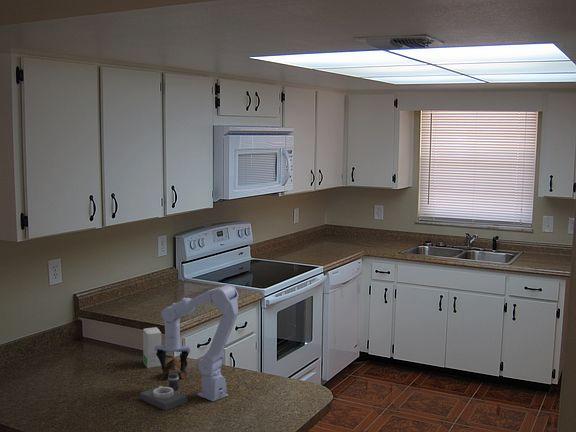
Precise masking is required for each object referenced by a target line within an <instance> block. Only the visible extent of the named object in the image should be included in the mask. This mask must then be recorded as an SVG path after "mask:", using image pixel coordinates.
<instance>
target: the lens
mask: <svg viewBox="0 0 576 432" xmlns="http://www.w3.org/2000/svg"><path fill="white" fill-rule="evenodd" d="M167 375H168V377H167V379H168V387H170V388H173V390H174V391H176V392H177V391H178V390H179V389H180V384H179V382H180V381H179V380H180V373H178V372H169V373H168V374H167Z"/></svg>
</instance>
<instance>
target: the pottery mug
mask: <svg viewBox="0 0 576 432" xmlns="http://www.w3.org/2000/svg"><path fill="white" fill-rule="evenodd" d="M175 367H177V368H178V369H179V371H181V360H180V359H179V360H178V359H177V358H174V359H171V360H169V361H168V362H167V363H166V368H165V369H164V370H163V369H162V368H161V370H162V374H163V375H164V374H166V375H168V374H170V371H173V372H174V371H176V369H175ZM187 367H188V360H187V359H186V362H185V366H184V370H183V371H181V373H179V377H180V379H181V380H183V379H184V378H186V377H187V375H188V373H187V370H186V369H187ZM169 370H170V371H169Z"/></svg>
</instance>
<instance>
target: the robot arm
mask: <svg viewBox="0 0 576 432" xmlns="http://www.w3.org/2000/svg"><path fill="white" fill-rule="evenodd" d="M239 295H240V294H239V293H238V291H237V289H236V287H235V286H234V285H233V284H229V283H227V284H225V285H223V286H222V285H221V286H219V287H215V288H212V289H210V290H207V291H205V292H203V293H201V294H200V295H198V296H195V297H193V298H190V297H182V298H181V299H180V301H178V302H173V303H172V304H171V305H169V306H168V307H165V308H164V309H162V310H161V318H162V320H163V321H164V337H165V340H164V341H165V342H164V343H165V344H161V345H156V346H155V347H154V351H157V353H156V355H157V357H158V358H159V360H160V363H161V366H160V367H161V370H162V369H163V370H164V369H165V368H166V366H167V365H166V364H167V363H166V362H167V361H166V354H167V352H173V353H174V352H176V353H180V354H179V361H180V360H181V370H180V372H182V371H183V370H184V366H185V362H186V360H187V359H188V357H189V354H190V353H191V352H192V346H188V345H181V331H180V329H181V328H180V326H181V325H180V324H181V323H180V322H181V318H182V317H184V316H187V315H188V314H190V313H192V312H194V311H195V309H196V307H197V306H199V305H202V304H204V303H206V302H210V303H211V304H212V303H213V304H214V306H216V308H217V309H218V310H219V311H220V313H221V314H222V316H221V318H220V319H219V324H218V325H217V328H216V331H215V334H214V336H213V339H212V341H211V343H210V346H209V348H208V350H207V351H206V353H205V354H204V356H203V357H202V359H200V361H199V362H198V364H197V368H198V371H199V373H200V374H201V375H200V376H201V392H198V393H197V396H198V397H201V398H204V399H207V400H208V401H211V402H215V401H218V400H220V399H223V398H225V397H226V398H227V397H228V396H229V394H228V393H227V379H226V378H225V377H224V376H223V375H222V373H221V369H222V367H223V366H224V356H225V353H224V350H225V347H226V344H227V342H228V339H229V337H230V335H231V332H232V330H233V328H234V325H235V322H236V320H237V317H238V314H239V304H238V299H239ZM163 370H162V371H163Z"/></svg>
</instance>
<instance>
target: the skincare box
mask: <svg viewBox="0 0 576 432" xmlns="http://www.w3.org/2000/svg"><path fill="white" fill-rule="evenodd" d="M142 332H143V333H142V338H143V339H142V342H143V343H142V345H143V346H142V347H143V349H142V350H143V352H142V355H143V357H142V358H143V359H142V360H143V361H142V362H143V364H144V366H145V367H146V368H147V369H151V368H158V367H162V366H161V363H160V360H159V358H158V357H157V355H156V353H157V351H154V347H155V346H156V345H162V332H161V331H160V329H159V328H158V327H157V326H155V327H147V328H143V329H142Z"/></svg>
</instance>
